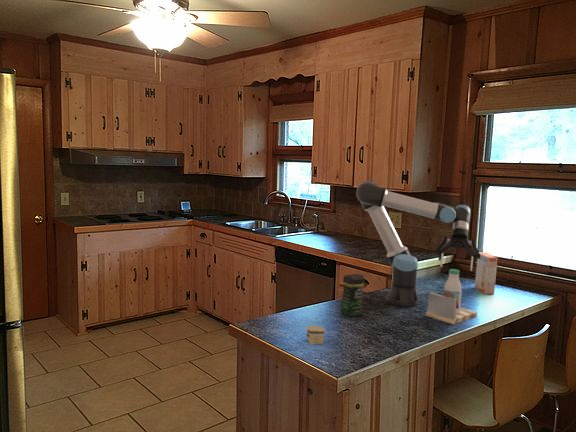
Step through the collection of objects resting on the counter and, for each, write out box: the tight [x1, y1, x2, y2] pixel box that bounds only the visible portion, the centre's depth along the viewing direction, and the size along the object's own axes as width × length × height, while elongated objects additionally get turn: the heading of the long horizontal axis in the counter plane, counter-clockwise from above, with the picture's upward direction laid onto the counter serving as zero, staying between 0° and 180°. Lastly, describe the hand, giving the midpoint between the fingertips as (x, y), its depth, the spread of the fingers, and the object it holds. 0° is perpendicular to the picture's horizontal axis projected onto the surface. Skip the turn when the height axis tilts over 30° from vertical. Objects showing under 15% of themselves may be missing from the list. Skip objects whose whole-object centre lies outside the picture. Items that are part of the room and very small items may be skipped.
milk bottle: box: [443, 268, 462, 314], centre depth 216 cm, size 8×8×20 cm
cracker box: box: [474, 252, 499, 295], centre depth 264 cm, size 14×6×21 cm, turn 179°
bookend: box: [427, 291, 457, 320], centre depth 211 cm, size 2×13×9 cm, turn 40°
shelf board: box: [425, 306, 478, 325], centre depth 217 cm, size 20×14×2 cm
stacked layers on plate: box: [305, 325, 326, 345], centre depth 179 cm, size 10×9×6 cm
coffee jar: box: [340, 273, 365, 317], centre depth 213 cm, size 10×8×19 cm
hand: (456, 267), depth 222 cm, fingers open, 13 cm apart
